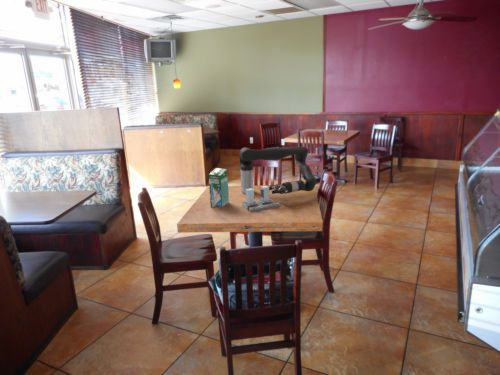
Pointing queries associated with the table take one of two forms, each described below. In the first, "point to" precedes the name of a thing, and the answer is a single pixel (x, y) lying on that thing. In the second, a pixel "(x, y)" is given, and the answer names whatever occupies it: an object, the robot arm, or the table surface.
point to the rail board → (260, 205)
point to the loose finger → (264, 193)
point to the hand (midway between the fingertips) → (268, 190)
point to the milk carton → (218, 187)
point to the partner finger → (250, 196)
